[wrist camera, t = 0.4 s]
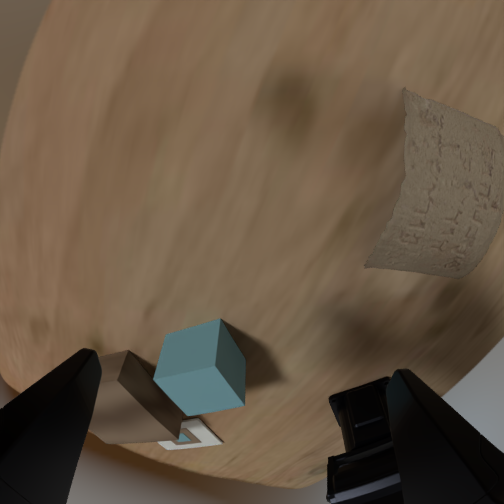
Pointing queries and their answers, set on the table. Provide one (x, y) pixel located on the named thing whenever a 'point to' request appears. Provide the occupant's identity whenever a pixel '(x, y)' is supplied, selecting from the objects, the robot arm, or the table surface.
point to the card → (192, 436)
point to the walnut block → (132, 404)
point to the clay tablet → (444, 193)
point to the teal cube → (202, 369)
